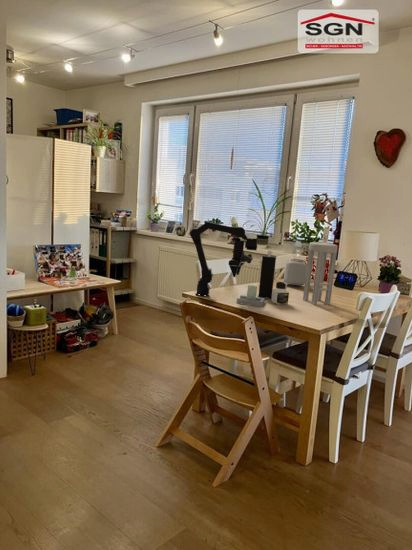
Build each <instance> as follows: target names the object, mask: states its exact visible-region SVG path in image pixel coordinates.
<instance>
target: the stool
mask: <svg viewBox="0 0 412 550" xmlns="http://www.w3.org/2000/svg"><path fill="white" fill-rule="evenodd" d="M338 248H339V247H338V245H337V244H333V243H328V242H317V241H313V242H311V241H310V243H309V247H308V253H307V254H308V255H307V263H306V265H307V270H306V278H305V284H304V285H303V286H304V287H303V288H304V289H303V297H302V301H304V302H309V297H310V288H311V289H312V296H311V304H312V305H313V306H317V305H318V302H321V301H322V295H323V292H325V296H324V298H325V299H324V305H326V306H327V305H329V306H330V305H331V299H332V291H333V284H334V276H335V269H336V262H337V255H338V254H337V253H338ZM315 252H317V257H316V264H315V270H314V280H313V279H312V271H313V265H314V258H315V257H314V256H315ZM328 253H330V258H329V267H328V274H327V282H324V278H325V272H326V265H327V255H328ZM311 283H313V284H311ZM324 287H326V288H324Z"/></svg>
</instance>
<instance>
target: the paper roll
mask: <svg viewBox="0 0 412 550" xmlns="http://www.w3.org/2000/svg"><path fill="white" fill-rule="evenodd" d="M257 289H258V286H257V285H255V284H254V285H253V284H248V285H247V291H246V293H247V294H246V296H247V299H248V300H256V297H257V292H258V291H257Z"/></svg>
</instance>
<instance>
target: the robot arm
mask: <svg viewBox="0 0 412 550" xmlns="http://www.w3.org/2000/svg"><path fill="white" fill-rule="evenodd" d="M207 230H214V231H217V232H221V233H226V234H229V235H232V236H233V237H231V239H230V241H231V242H233V249H232V257H231V259H230V260H228V266H229V269H230V271H231V274H232V277H233V278H236V276H239V274H240V271H241V269H242V266H243V265H245V263H247V264H249V265H251V263H252V261H253V259H254V258H253V255H252V254H251V253H248V254H245V251H244V248H245V249H246V251H256V252H257V250H258V238H252V237H251V238H250V237H248V236H247V235H246V230H245V228H244V227H242V226H229V225H224V224H220V223H214V222H211V221H206V222H204V224H202V225H200V226H199V227H194V228H192V229H191V230H190V232H189V237H190V238H191V240H192V242H193V244H194V245H195V250H196V254H197V257H198V261H199V263H200V269H201V277H200V278H199V279H198V282H197V284H196V285H197V286H196V294H200V295H208V296H210V290H211V289H210V283H211V282H212V280H213V278H214V277H213V276H214V274H213V270H212V268H209V265H208V262H207V258H206V255H205V251H204V247H203V243H202V241H203V239H202V234H203V233H205V232H206V231H207Z"/></svg>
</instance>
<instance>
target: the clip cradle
mask: <svg viewBox="0 0 412 550" xmlns="http://www.w3.org/2000/svg"><path fill="white" fill-rule="evenodd" d="M265 301H266V298H263V297H258V296H256V300H248V299H247V295H243V294H240V296H239V297H238V298H236V304H240V303H242V304H241V305H247V304H249V306H254V305H255V306H256V307H261V306H262V307H263V306H264V304H265V303H266V302H265ZM264 302H265V303H264Z"/></svg>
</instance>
